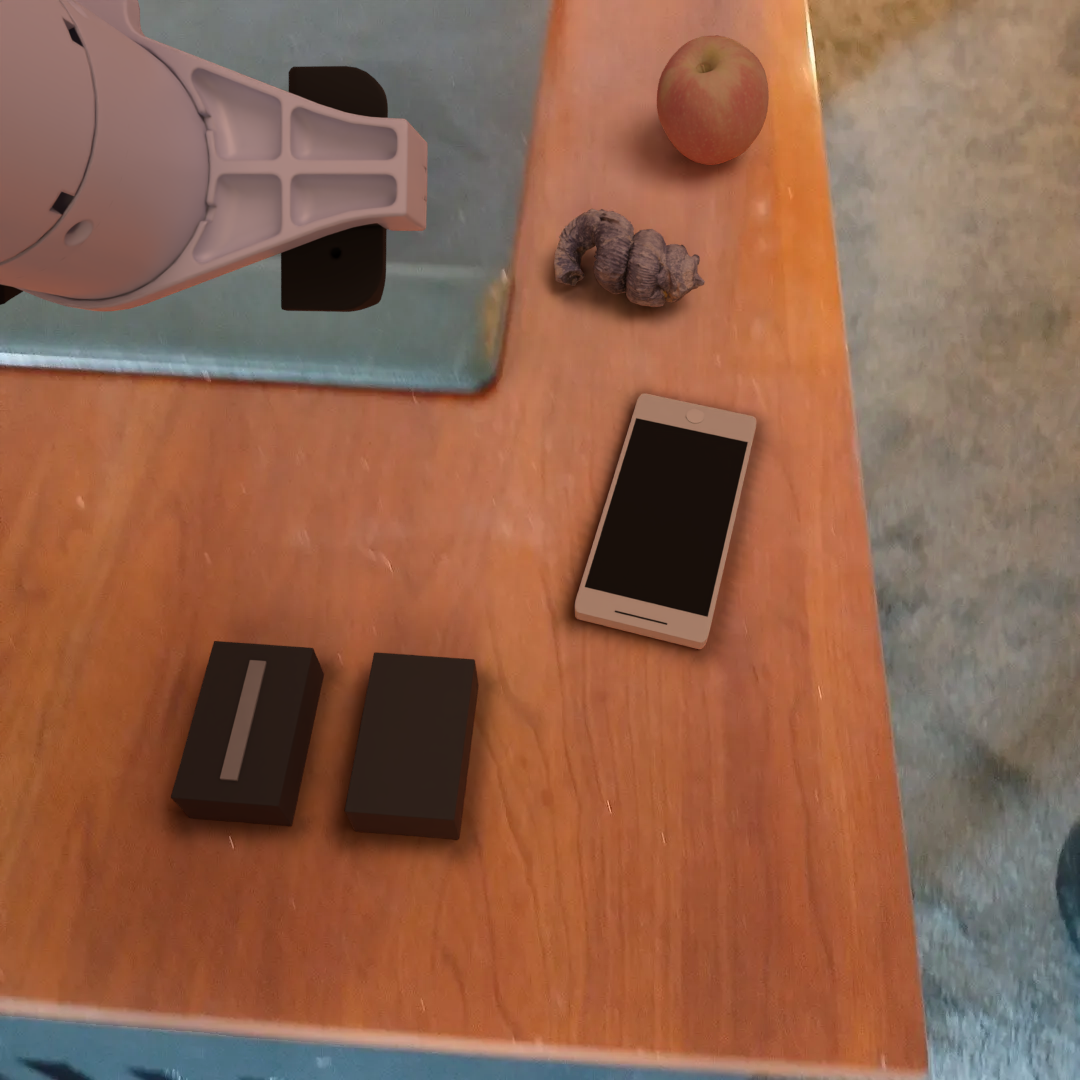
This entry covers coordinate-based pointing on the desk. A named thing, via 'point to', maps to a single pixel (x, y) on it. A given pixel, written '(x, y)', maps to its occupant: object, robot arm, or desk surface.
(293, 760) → the pad
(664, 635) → the smartphone
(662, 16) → the desk surface
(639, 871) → the desk surface
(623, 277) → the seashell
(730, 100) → the apple
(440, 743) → the pad
